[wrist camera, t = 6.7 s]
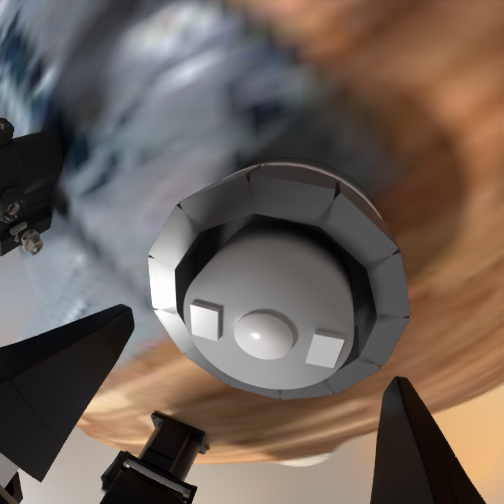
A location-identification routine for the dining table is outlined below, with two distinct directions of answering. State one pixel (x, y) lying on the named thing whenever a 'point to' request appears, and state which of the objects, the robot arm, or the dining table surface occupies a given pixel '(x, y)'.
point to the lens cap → (273, 307)
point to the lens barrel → (301, 212)
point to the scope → (26, 186)
